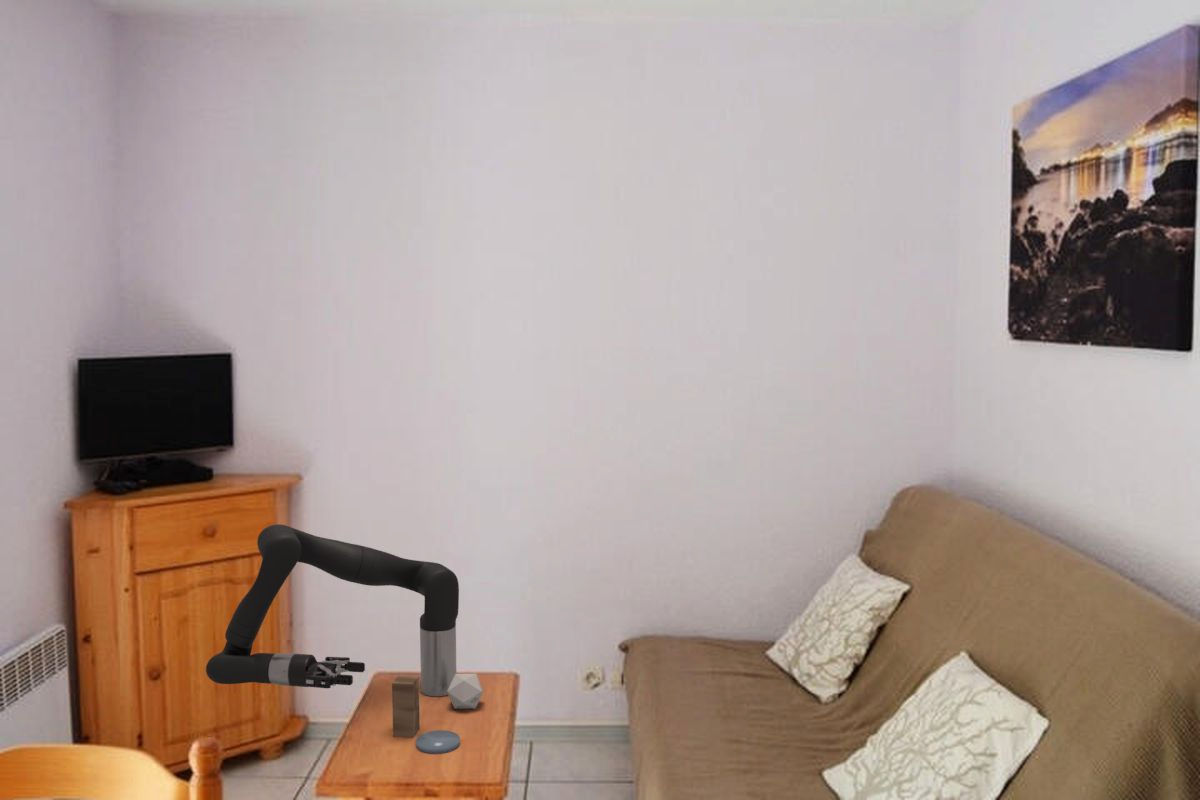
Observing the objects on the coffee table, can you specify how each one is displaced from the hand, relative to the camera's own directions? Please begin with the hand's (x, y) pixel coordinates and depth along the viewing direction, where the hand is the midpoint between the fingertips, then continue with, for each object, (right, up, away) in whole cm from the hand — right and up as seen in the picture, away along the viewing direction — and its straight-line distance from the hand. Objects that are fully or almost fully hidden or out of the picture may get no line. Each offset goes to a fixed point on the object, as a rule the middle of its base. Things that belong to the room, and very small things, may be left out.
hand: (358, 673), depth 258 cm
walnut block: (+11, -14, +1) cm, 18 cm away
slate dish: (+20, -15, -6) cm, 25 cm away
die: (+23, -13, +16) cm, 31 cm away
